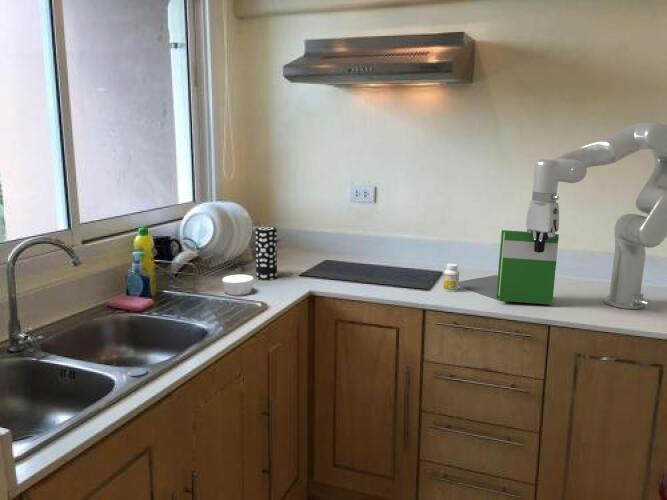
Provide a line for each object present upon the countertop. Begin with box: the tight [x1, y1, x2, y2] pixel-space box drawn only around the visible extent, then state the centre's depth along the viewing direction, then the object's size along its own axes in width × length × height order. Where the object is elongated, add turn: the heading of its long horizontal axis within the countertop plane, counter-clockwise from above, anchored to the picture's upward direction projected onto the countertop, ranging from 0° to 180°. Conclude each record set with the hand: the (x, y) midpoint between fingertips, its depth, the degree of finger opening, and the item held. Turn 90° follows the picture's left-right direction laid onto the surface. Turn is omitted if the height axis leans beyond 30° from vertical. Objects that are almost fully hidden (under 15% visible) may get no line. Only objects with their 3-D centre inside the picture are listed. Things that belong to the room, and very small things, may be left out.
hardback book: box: [496, 229, 560, 305], centre depth 198 cm, size 18×7×24 cm, turn 82°
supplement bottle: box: [443, 263, 460, 292], centre depth 212 cm, size 5×5×10 cm
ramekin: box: [221, 273, 255, 296], centre depth 207 cm, size 11×11×5 cm
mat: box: [458, 274, 499, 301], centre depth 217 cm, size 26×24×1 cm
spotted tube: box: [254, 226, 278, 281], centre depth 225 cm, size 8×8×20 cm
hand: (538, 251), depth 191 cm, fingers closed
